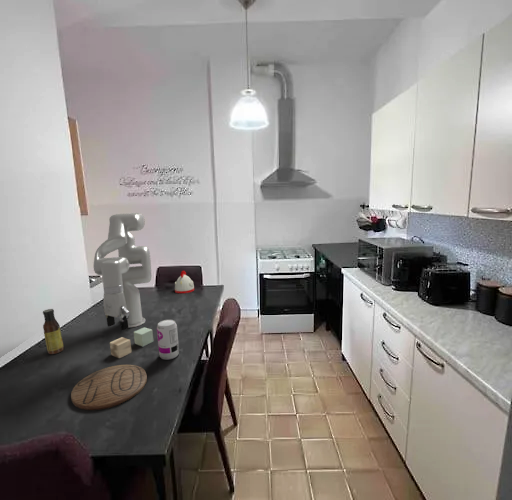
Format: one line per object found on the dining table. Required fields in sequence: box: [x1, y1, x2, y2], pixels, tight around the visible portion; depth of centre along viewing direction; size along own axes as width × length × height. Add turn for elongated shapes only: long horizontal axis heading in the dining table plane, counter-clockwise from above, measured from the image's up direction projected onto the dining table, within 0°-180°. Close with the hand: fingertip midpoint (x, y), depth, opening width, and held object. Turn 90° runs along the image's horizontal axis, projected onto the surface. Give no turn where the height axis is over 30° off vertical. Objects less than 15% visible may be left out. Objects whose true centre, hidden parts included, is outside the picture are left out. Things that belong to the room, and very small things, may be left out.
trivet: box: [70, 364, 148, 411], centre depth 113 cm, size 25×25×2 cm
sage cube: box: [133, 327, 154, 347], centre depth 147 cm, size 6×6×6 cm
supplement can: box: [156, 319, 180, 361], centre depth 133 cm, size 8×8×15 cm
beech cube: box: [109, 336, 132, 359], centre depth 137 cm, size 6×6×6 cm
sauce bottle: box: [42, 308, 64, 355], centre depth 140 cm, size 7×6×20 cm
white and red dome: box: [174, 270, 195, 294], centre depth 227 cm, size 14×14×15 cm
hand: (117, 327), depth 135 cm, fingers open, 9 cm apart
